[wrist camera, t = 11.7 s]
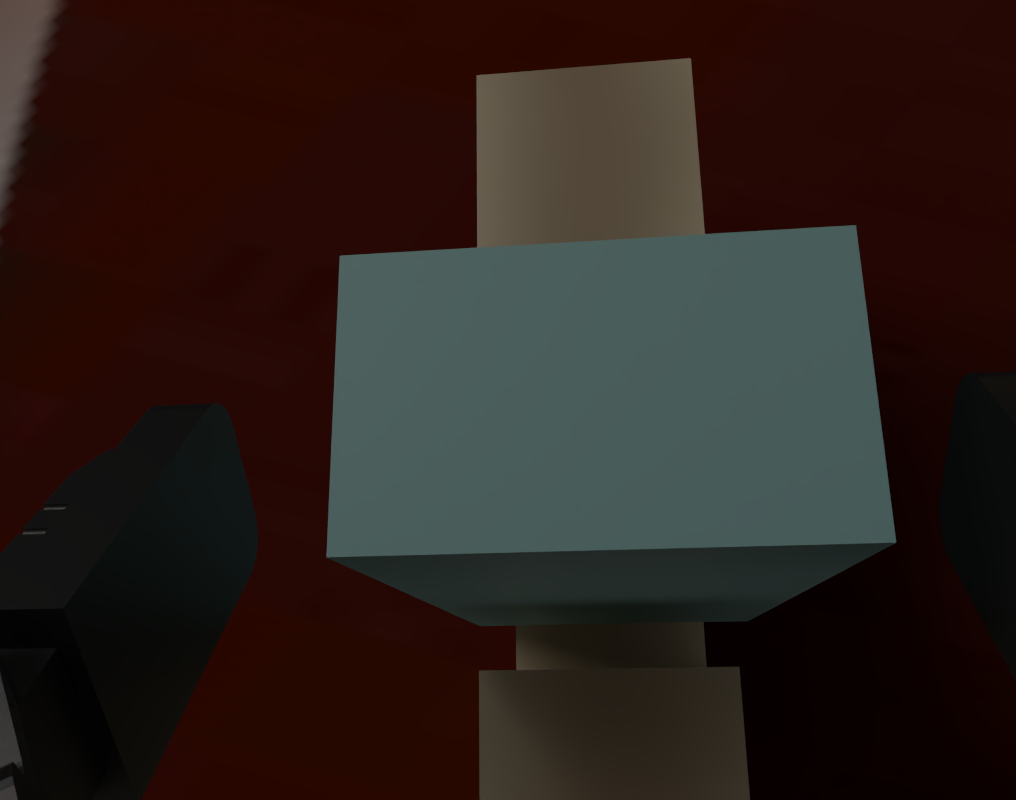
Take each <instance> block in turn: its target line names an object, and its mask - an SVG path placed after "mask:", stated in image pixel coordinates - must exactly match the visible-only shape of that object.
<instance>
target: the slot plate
mask: <svg viewBox="0 0 1016 800" xmlns="http://www.w3.org/2000/svg"><path fill="white" fill-rule="evenodd" d="M701 234H705V231H704V219H703V206H702V194H701V181H700V169H699V156H698V144H697V131H696V119H695V106H694V94H693V81H692V69H691V58H688V59H675V60H663V61H650V62H638V63H625V64H613V65H600V66H588V67H576V68H563V69H551V70H538V71H526V72H513V73H501V74H489V75H477V248H481V247H498V246H515V245H532V244H548V243H565V242H582V241H599V240H616V239H633V238H650V237H667V236H684V235H701ZM516 661H517V670H500V671H479V745H480V800H750V794H749V781H748V769H747V756H746V744H745V731H744V719H743V706H742V694H741V681H740V669H739V667H707V665H706V651H705V636H704V622H676V623H620V624H564V625H516Z"/></svg>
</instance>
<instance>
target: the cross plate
mask: <svg viewBox="0 0 1016 800" xmlns="http://www.w3.org/2000/svg"><path fill="white" fill-rule="evenodd" d="M895 543H896V537H895V529H894V521H893V513H892V505H891V497H890V490H889V482H888V474H887V466H886V458H885V450H884V443H883V435H882V427H881V419H880V411H879V403H878V396H877V388H876V380H875V372H874V364H873V356H872V349H871V341H870V333H869V325H868V317H867V309H866V302H865V294H864V286H863V278H862V270H861V262H860V255H859V247H858V239H857V231H856V225H853V226H836V227H819V228H802V229H785V230H768V231H751V232H734V233H717V234H701V235H684V236H667V237H650V238H633V239H616V240H599V241H582V242H565V243H548V244H532V245H515V246H498V247H481V248H464V249H447V250H430V251H413V252H396V253H379V254H363V255H346V256H340V266H339V288H338V311H337V334H336V356H335V379H334V401H333V424H332V446H331V469H330V492H329V514H328V537H327V558H329V559H331V560H334V561H336V562H338V563H340V564H343V565H345V566H347V567H349V568H352V569H354V570H356V571H358V572H361V573H363V574H365V575H367V576H369V577H372V578H374V579H376V580H378V581H381V582H383V583H385V584H387V585H390V586H392V587H394V588H396V589H398V590H401V591H403V592H405V593H407V594H410V595H412V596H414V597H416V598H419V599H421V600H423V601H425V602H427V603H430V604H432V605H434V606H436V607H439V608H441V609H443V610H445V611H448V612H450V613H452V614H454V615H457V616H459V617H461V618H463V619H465V620H468V621H470V622H472V623H474V624H477V625H479V626H508V625H564V624H620V623H676V622H732V621H749V620H751V619H753V618H755V617H757V616H759V615H761V614H763V613H764V612H766V611H768V610H770V609H772V608H774V607H776V606H778V605H780V604H781V603H783V602H785V601H787V600H789V599H791V598H793V597H795V596H797V595H798V594H800V593H802V592H804V591H806V590H808V589H810V588H812V587H814V586H815V585H817V584H819V583H821V582H823V581H825V580H827V579H829V578H830V577H832V576H834V575H836V574H838V573H840V572H842V571H844V570H846V569H847V568H849V567H851V566H853V565H855V564H857V563H859V562H861V561H863V560H864V559H866V558H868V557H870V556H872V555H874V554H876V553H878V552H880V551H881V550H883V549H885V548H887V547H889V546H891V545H893V544H895Z"/></svg>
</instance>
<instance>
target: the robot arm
mask: <svg viewBox="0 0 1016 800" xmlns="http://www.w3.org/2000/svg"><path fill="white" fill-rule="evenodd" d="M939 512H940V527H941V534H942V538H943V543H944V546H945V549H946V552H947V555H948V557H949V559H950V561H951V563H952V565H953V567H954V568H955V570H956V572H957V574H958V576H959V578H960V580H961V581H962V583H963V585H964V587H965V589H966V591H967V592H968V594H969V596H970V598H971V600H972V602H973V604H974V605H975V607H976V609H977V611H978V613H979V615H980V617H981V618H982V620H983V622H984V624H985V626H986V628H987V630H988V631H989V633H990V635H991V637H992V639H993V641H994V643H995V644H996V646H997V648H998V650H999V652H1000V654H1001V656H1002V657H1003V659H1004V661H1005V663H1006V665H1007V667H1008V669H1009V670H1010V672H1011V674H1012V676H1013V678H1014V680H1015V682H1016V371H1011V372H987V373H969V374H966V375H965V376H964V377H963V378H962V380H961V381H960V383H959V386H958V389H957V392H956V397H955V403H954V409H953V416H952V422H951V429H950V436H949V442H948V449H947V456H946V462H945V469H944V475H943V482H942V489H941V495H940V508H939ZM257 542H258V533H257V522H256V516H255V512H254V508H253V504H252V500H251V496H250V492H249V488H248V484H247V480H246V476H245V472H244V468H243V464H242V460H241V456H240V452H239V448H238V444H237V440H236V436H235V432H234V428H233V425H232V421H231V419H230V416H229V414H228V412H227V411H226V409H225V408H224V407H223V406H222V405H221V404H218V403H211V404H188V405H164V406H153V407H151V408H150V409H148V410H147V411H146V413H145V414H144V415H143V416H142V417H141V419H140V420H139V421H138V422H137V423H136V425H135V426H134V427H133V428H132V429H131V431H130V432H129V433H128V434H127V435H126V437H125V438H124V439H123V440H122V441H121V443H120V444H119V445H118V446H117V447H116V449H115V450H107V451H106V452H104V453H103V454H101V455H100V456H98V457H97V458H95V459H94V460H92V461H91V462H89V463H87V464H86V465H84V466H83V467H81V468H80V469H78V470H77V471H75V472H74V473H72V474H71V475H69V476H68V477H67V478H66V480H65V481H64V482H63V483H62V484H61V485H60V486H59V488H58V489H57V490H56V491H55V492H54V493H53V494H52V496H51V497H50V498H49V499H48V500H47V501H46V502H45V504H44V510H38V512H37V513H36V514H35V515H34V516H33V517H32V518H31V520H30V521H29V522H28V523H27V524H26V525H25V526H24V528H23V535H17V536H16V537H15V538H14V539H13V540H12V541H11V542H10V544H9V545H8V546H7V547H6V548H5V549H4V550H3V552H2V553H1V554H0V800H141V798H142V796H143V794H144V792H145V790H146V788H147V786H148V784H149V782H150V780H151V778H152V776H153V773H154V771H155V769H156V767H157V765H158V763H159V761H160V759H161V757H162V755H163V753H164V751H165V749H166V747H167V745H168V743H169V741H170V739H171V737H172V734H173V732H174V730H175V728H176V726H177V724H178V722H179V720H180V718H181V716H182V714H183V712H184V710H185V708H186V706H187V704H188V702H189V700H190V697H191V695H192V693H193V691H194V689H195V687H196V685H197V683H198V681H199V679H200V677H201V675H202V673H203V671H204V669H205V667H206V665H207V663H208V660H209V658H210V656H211V654H212V652H213V650H214V648H215V646H216V644H217V642H218V640H219V638H220V636H221V634H222V632H223V630H224V628H225V626H226V624H227V621H228V619H229V617H230V615H231V613H232V611H233V609H234V607H235V605H236V603H237V601H238V599H239V597H240V595H241V593H242V591H243V589H244V587H245V584H246V582H247V580H248V578H249V576H250V574H251V572H252V569H253V567H254V563H255V559H256V553H257Z"/></svg>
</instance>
